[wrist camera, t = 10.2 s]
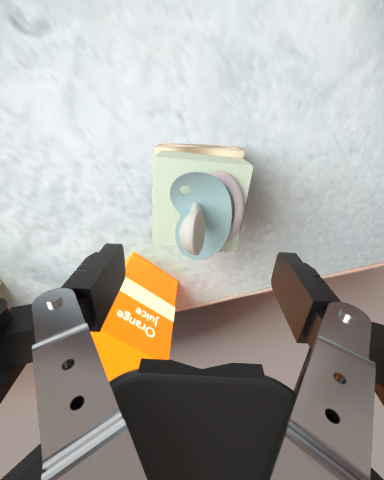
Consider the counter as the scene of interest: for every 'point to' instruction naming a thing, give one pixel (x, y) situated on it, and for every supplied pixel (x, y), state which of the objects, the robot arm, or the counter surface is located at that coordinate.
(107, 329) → the orange juice
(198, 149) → the maple block
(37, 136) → the counter surface
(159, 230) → the sage block
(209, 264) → the counter surface
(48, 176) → the counter surface
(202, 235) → the pacifier
